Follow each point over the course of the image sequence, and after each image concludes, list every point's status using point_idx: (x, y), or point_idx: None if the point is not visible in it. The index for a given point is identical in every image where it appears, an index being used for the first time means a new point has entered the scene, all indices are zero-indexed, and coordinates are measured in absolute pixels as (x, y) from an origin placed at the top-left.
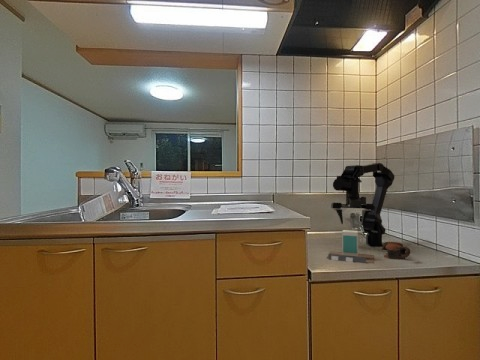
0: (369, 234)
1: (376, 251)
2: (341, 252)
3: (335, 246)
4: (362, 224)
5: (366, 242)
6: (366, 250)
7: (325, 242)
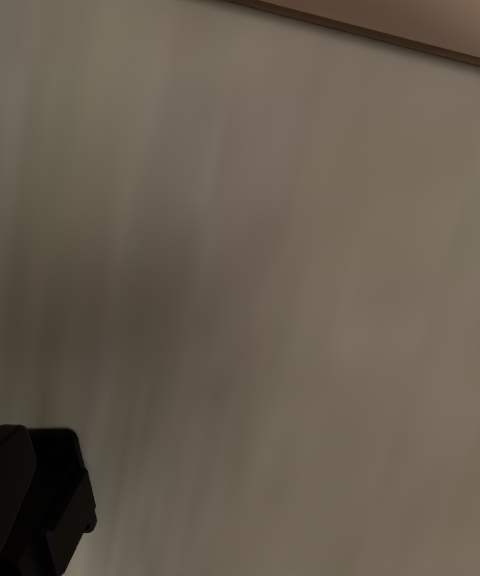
0: (18, 546)
1: (41, 250)
2: (456, 33)
3: (406, 405)
4: (16, 428)
5: (90, 501)
6: (131, 279)
7: (462, 541)
